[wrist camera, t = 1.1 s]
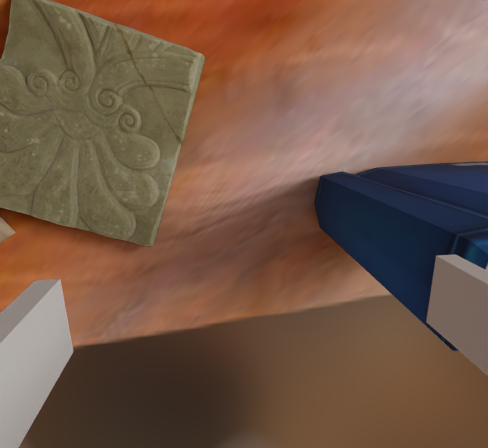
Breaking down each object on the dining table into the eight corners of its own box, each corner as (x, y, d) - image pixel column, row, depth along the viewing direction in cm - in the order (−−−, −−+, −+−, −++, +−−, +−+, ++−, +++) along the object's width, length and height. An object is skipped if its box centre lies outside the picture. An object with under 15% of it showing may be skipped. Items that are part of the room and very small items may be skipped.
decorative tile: (207, 58, 34) (207, 51, 31) (156, 242, 39) (151, 253, 35) (6, -17, 31) (-18, -35, 27) (-25, 194, 35) (-49, 201, 32)
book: (306, 231, 40) (462, 384, 16) (306, 170, 38) (484, 238, 14) (478, 218, 42) (848, 336, 18) (487, 159, 40) (914, 203, 16)
